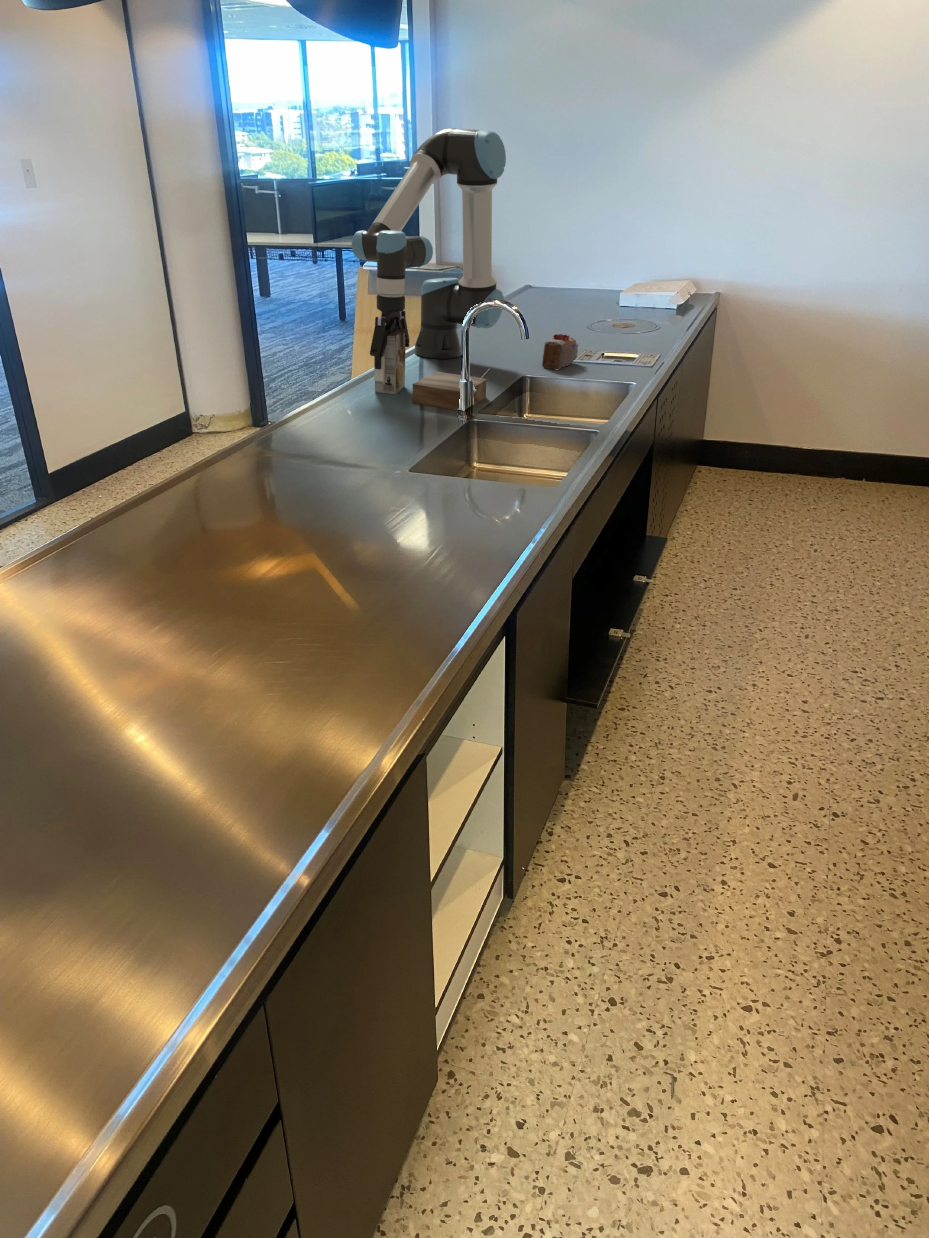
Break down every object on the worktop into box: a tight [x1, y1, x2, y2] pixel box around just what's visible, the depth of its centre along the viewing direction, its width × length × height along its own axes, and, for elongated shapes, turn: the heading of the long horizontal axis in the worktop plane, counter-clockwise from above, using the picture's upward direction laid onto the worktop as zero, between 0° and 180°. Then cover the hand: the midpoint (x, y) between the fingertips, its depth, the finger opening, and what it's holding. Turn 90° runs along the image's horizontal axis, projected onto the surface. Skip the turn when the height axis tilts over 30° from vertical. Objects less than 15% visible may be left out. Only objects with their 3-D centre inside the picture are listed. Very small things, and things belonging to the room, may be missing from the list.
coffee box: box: [374, 328, 406, 395], centre depth 243 cm, size 9×6×16 cm
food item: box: [541, 333, 579, 370], centre depth 280 cm, size 14×8×10 cm, turn 154°
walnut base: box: [411, 371, 488, 411], centre depth 239 cm, size 16×15×5 cm
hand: (390, 375), depth 245 cm, fingers open, 12 cm apart
